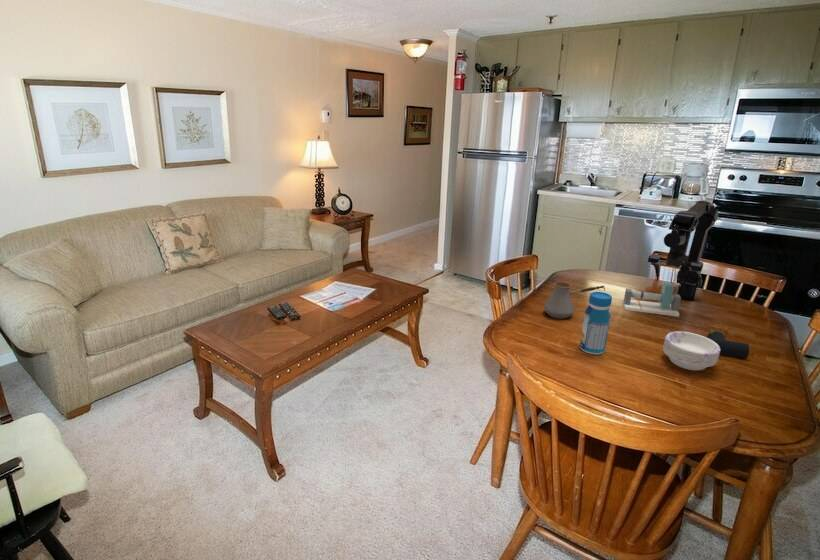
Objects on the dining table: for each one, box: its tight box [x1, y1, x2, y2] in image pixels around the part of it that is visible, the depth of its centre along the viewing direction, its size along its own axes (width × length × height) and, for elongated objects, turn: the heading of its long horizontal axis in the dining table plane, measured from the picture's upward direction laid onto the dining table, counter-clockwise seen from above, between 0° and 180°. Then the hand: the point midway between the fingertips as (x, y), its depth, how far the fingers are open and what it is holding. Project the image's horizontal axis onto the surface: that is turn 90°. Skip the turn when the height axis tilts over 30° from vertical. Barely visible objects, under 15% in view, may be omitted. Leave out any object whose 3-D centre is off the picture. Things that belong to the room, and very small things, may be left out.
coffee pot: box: [544, 281, 606, 319], centre depth 177 cm, size 21×12×15 cm, turn 64°
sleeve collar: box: [658, 281, 675, 308], centre depth 185 cm, size 3×6×9 cm, turn 161°
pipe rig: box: [622, 288, 682, 318], centre depth 188 cm, size 20×10×7 cm, turn 71°
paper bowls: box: [662, 331, 721, 371], centre depth 145 cm, size 15×15×8 cm
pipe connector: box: [705, 329, 750, 359], centre depth 156 cm, size 12×5×15 cm
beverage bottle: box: [579, 291, 613, 355], centre depth 151 cm, size 8×8×20 cm
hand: (670, 282), depth 181 cm, fingers open, 9 cm apart
